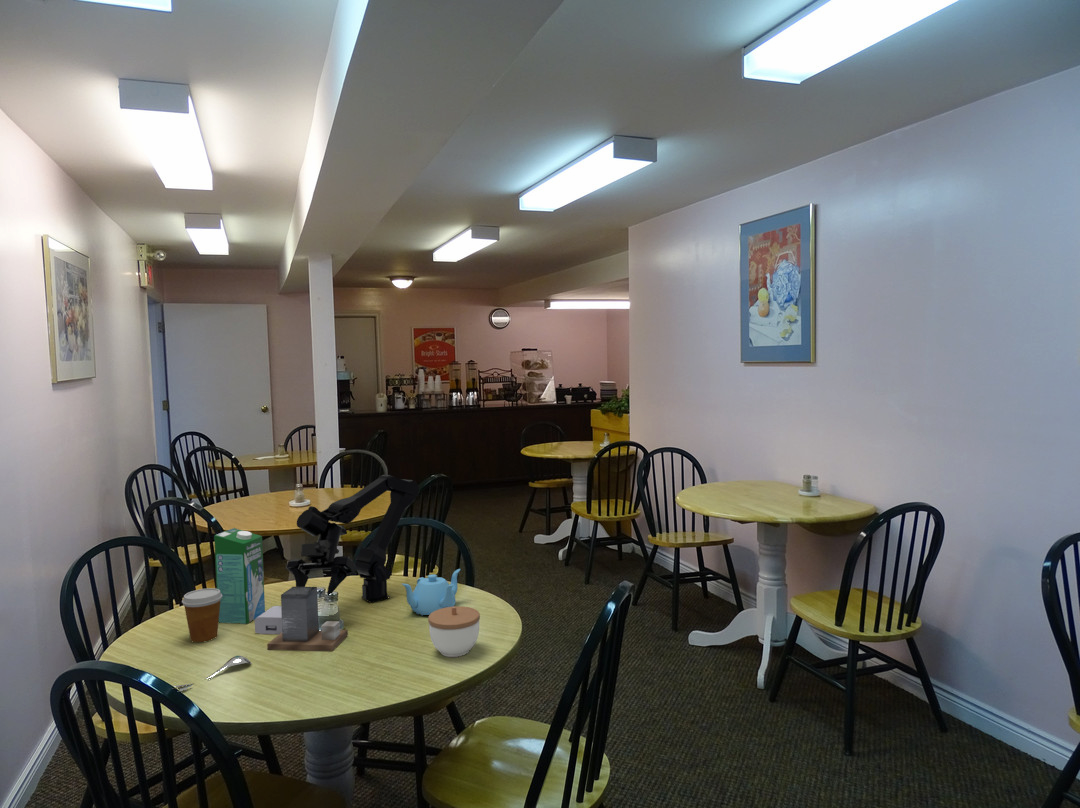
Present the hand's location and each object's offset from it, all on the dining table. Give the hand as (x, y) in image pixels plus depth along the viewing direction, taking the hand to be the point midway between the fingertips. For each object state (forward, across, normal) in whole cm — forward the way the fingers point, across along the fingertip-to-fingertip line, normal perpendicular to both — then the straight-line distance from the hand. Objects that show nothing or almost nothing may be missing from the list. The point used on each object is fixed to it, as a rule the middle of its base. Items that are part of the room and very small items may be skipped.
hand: (313, 595), depth 181 cm
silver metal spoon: (+27, -9, -18) cm, 33 cm away
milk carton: (+2, -27, +8) cm, 28 cm away
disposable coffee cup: (+12, -27, -4) cm, 30 cm away
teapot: (-3, +26, +23) cm, 35 cm away
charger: (+5, -12, +7) cm, 15 cm away
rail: (+13, +2, 0) cm, 13 cm away
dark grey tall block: (+12, 0, -1) cm, 12 cm away
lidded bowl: (+15, +41, +4) cm, 44 cm away
